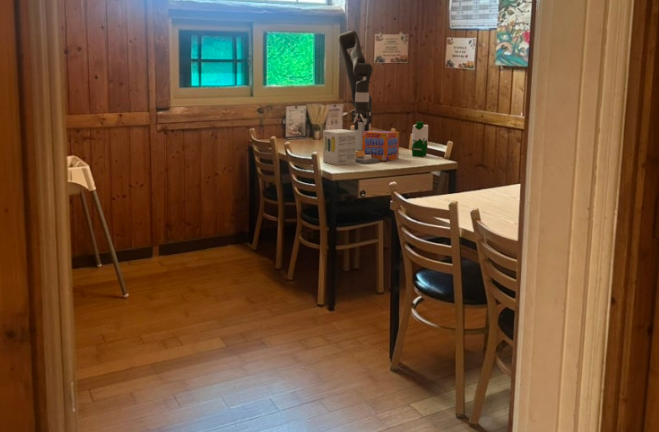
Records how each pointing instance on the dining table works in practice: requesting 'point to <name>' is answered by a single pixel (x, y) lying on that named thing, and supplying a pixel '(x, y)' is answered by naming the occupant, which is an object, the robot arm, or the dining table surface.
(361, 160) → the breaker panel
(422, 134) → the milk carton
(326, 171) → the dining table surface
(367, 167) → the dining table surface
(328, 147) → the supplement box
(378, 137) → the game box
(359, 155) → the breaker paddle
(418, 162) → the dining table surface
